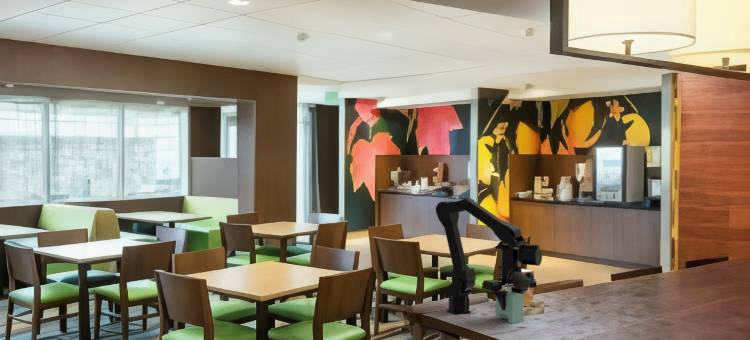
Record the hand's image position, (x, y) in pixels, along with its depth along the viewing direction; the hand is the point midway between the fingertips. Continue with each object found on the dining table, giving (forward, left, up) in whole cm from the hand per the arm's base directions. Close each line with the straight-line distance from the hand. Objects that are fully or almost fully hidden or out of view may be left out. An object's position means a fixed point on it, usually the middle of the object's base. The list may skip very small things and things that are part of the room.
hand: (509, 309), depth 218 cm
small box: (+18, +17, -4) cm, 25 cm away
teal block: (0, 0, -3) cm, 3 cm away
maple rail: (+11, +5, -3) cm, 13 cm away
